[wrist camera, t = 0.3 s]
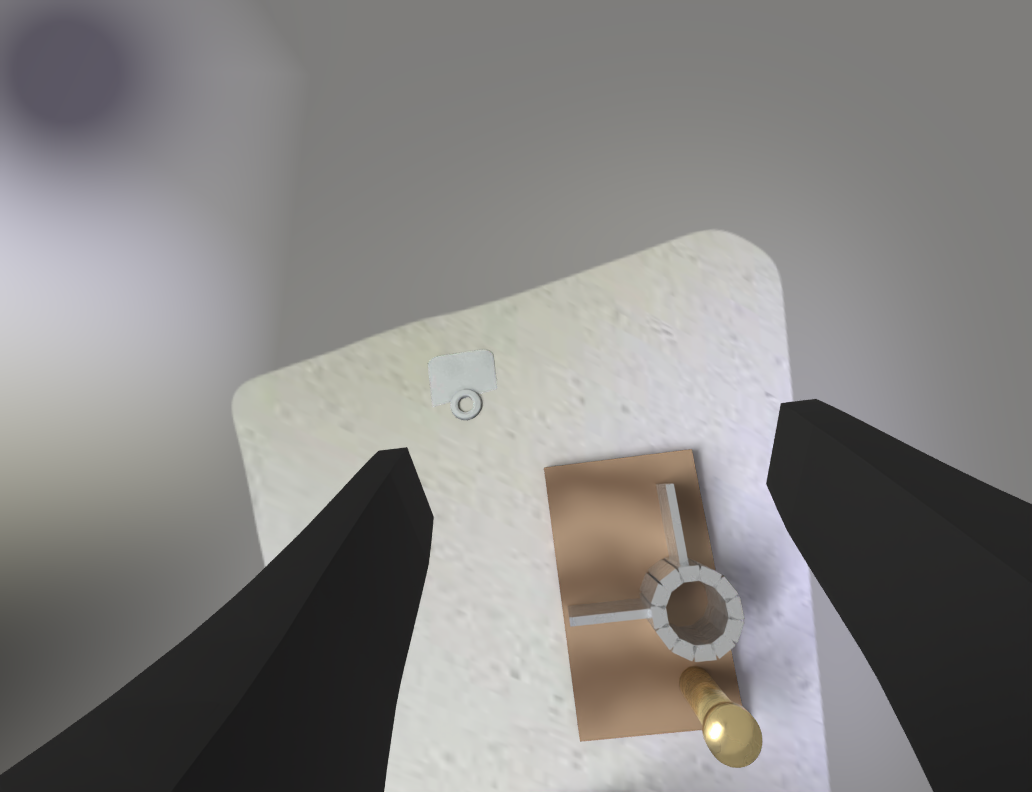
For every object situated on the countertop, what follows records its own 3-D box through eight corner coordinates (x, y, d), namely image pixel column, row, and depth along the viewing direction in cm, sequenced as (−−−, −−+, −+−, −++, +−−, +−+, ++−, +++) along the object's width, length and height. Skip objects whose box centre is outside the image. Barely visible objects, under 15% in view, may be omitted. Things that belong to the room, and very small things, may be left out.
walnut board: (740, 718, 34) (745, 725, 33) (579, 734, 34) (580, 741, 33) (687, 450, 37) (691, 449, 36) (544, 467, 38) (543, 467, 37)
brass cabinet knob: (722, 706, 33) (767, 764, 26) (678, 710, 33) (711, 770, 26) (713, 658, 34) (755, 703, 27) (669, 662, 34) (700, 709, 27)
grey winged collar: (728, 636, 34) (751, 656, 30) (573, 652, 34) (576, 674, 30) (697, 479, 36) (715, 478, 32) (552, 496, 37) (553, 498, 33)
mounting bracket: (451, 593, 37) (426, 357, 40) (453, 590, 38) (429, 359, 41) (522, 585, 36) (491, 346, 40) (523, 582, 37) (492, 348, 40)
